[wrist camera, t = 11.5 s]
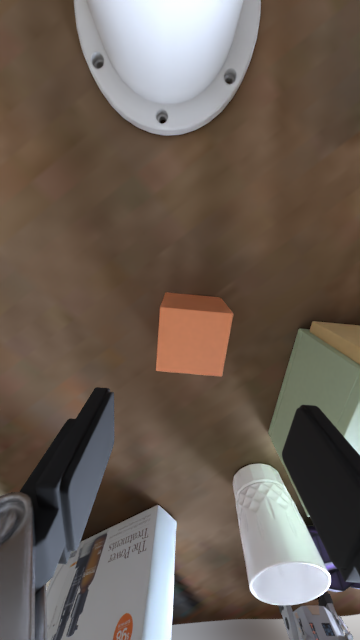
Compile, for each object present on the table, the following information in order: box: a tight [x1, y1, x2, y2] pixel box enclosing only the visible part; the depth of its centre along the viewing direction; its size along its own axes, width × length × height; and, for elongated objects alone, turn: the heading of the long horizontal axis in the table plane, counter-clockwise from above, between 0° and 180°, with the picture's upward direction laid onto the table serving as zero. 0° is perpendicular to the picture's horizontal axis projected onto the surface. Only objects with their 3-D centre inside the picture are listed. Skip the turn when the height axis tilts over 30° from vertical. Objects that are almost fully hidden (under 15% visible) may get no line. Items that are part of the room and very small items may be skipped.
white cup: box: [233, 463, 331, 605], centre depth 25 cm, size 8×8×10 cm
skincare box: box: [46, 505, 177, 640], centre depth 27 cm, size 21×5×16 cm, turn 127°
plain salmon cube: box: [156, 292, 233, 376], centre depth 20 cm, size 6×6×6 cm
